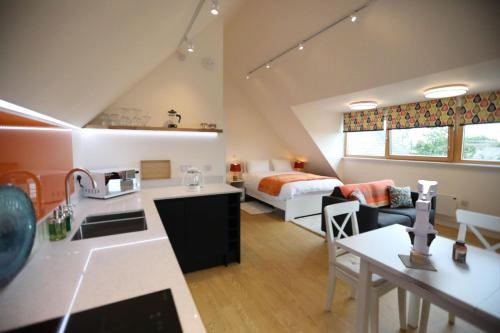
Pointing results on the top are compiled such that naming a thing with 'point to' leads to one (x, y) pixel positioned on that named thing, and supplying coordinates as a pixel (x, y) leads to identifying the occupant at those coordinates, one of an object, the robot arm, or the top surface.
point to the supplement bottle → (459, 251)
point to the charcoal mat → (425, 266)
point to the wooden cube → (416, 257)
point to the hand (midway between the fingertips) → (420, 245)
